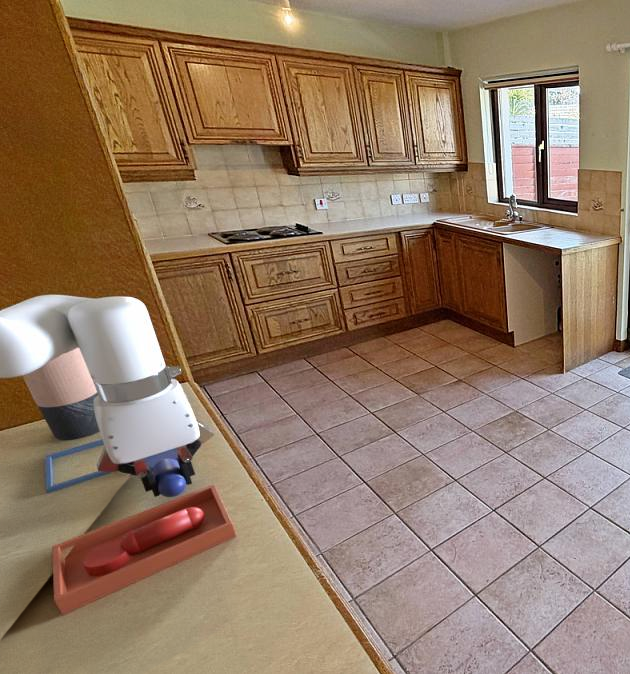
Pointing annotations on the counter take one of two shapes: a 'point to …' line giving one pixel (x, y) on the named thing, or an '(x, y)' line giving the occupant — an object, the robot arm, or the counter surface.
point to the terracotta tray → (83, 588)
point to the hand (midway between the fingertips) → (172, 484)
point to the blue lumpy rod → (168, 474)
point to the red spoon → (141, 541)
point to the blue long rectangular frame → (52, 488)
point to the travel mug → (65, 396)
